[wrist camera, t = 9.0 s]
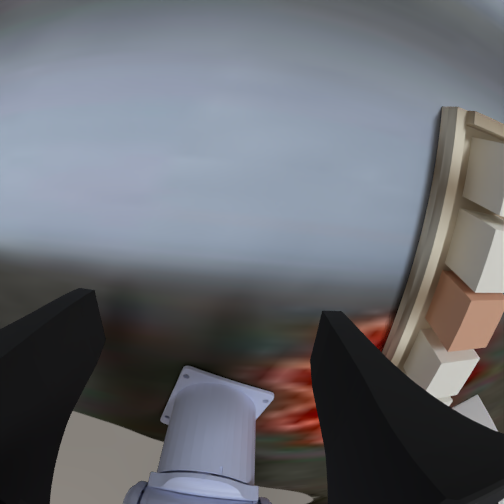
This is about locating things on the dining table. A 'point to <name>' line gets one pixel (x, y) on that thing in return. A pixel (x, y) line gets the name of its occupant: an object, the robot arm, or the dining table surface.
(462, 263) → the cream block
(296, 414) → the dining table surface
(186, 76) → the dining table surface
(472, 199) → the cream block
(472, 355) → the cream block
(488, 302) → the block terracotta
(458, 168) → the rack
